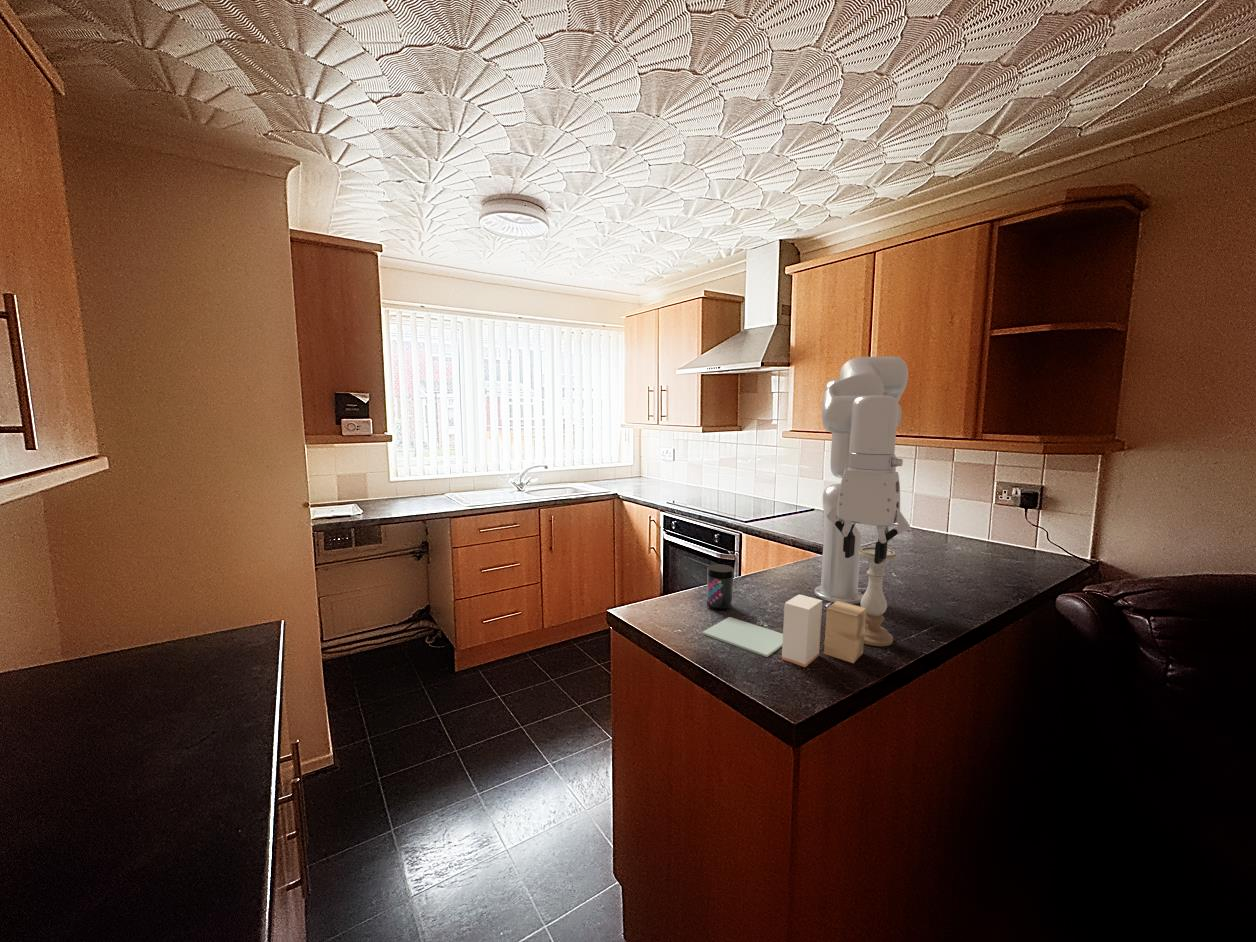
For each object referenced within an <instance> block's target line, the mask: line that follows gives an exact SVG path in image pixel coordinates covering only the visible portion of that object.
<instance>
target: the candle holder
mask: <svg viewBox="0 0 1256 942" xmlns="http://www.w3.org/2000/svg"><path fill="white" fill-rule="evenodd" d="M859 554H860V556H861V557H864V558H866V562H867V563H868V565H869V569H868V570H866V574H867V576H868V583H867V588H866V590H865V591H864V593H863V596H862V599H861V602H860V603H859V604H860V607H864V608H866V617H865V631H864V645H867V646H871V647H872V646H873V647H887V646H888V647H889V646H891V645H892V644H893V642H894V637H893V635H892V634H891V633H889V632H888V629H886V628H884V627H883V626H881V625H882V623H883V622H884V621H885V616H884V615H883V614H884V613H885V612H887V610H888V609H887V608H888V602H887V600H886V598H885V595H884V591H883V578H884V577H886V573H885V572H884V567H885V566H886V564H888V561H893V560H895V559H897V552H896V551H894V550H891V549H888V548H887V555H886V559H885V560H884V559H883V561H882V562H881V563H880V564H875V563H874V558H875V546H863V547H861V548H860V549H859Z"/></svg>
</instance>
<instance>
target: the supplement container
mask: <svg viewBox="0 0 1256 942" xmlns="http://www.w3.org/2000/svg"><path fill="white" fill-rule="evenodd" d="M706 571H707V576H706V577H707V579H706V581H707V583H706V606H707V607H708V608H709V609H710V610H712V609H713V611H715V612H716V611H717V612H725V611H729V610H731V609H732V607H733V599H734V598H733V595H734V594H733V592H734V576H735V575H734V574H735V573H734V571H735V568H734V567H732V566H731V565H727V564H721V563H720V564H718V563H717V564H716V563H715V564H710V565H708V566H707V570H706Z"/></svg>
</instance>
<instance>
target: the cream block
mask: <svg viewBox="0 0 1256 942" xmlns="http://www.w3.org/2000/svg"><path fill="white" fill-rule="evenodd" d="M783 607H784V608H783V610H784V611H783V625H782V626H783V629H782V634H783V643H782V646H781V648H782V649H781V660H783V661H786V662H789V663H792V664H795V665H797V666H800V667H803V668H806V667H808V666H809V664H811V663H812V662H813V661H814V660H816V658H818V657H819V656H820V646H821V643H820V642H821V641H820V640H821V626H822V613H823V612H822V611H823V610H822V609H823V599H819V598H815V597H812V596H811V597H810V596H807V595H804V594H800V593H799V594H797V595H795V596H794V597H792V598H791V599H789V600H787V601H785V603H784V606H783Z"/></svg>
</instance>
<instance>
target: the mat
mask: <svg viewBox="0 0 1256 942" xmlns="http://www.w3.org/2000/svg"><path fill="white" fill-rule="evenodd" d="M701 634H702V635H704V636H707V637H709V638H712V639H715V640H718V641H721V642H723V643H726V644H729V645H732V646H734V647H738V648H740V649H743V650H745V651H749V652H751V653H754V654H757V655H760V656H762V657H765V658H768V657H769V656H771V655H772V654H773V653H775V652H776V651H777V650H779V649H780V648H782V643H783V632H782V633H781V632H778V631H776V630H772V629H769V628H767V627H763V626H760V625H756V624H753V623H750V622H746V621H745V620H741V619H738V618H735V617H731V616H728V617H727V618H724V619H723V620H721V621H719V622H718V623H715V624H714V625H712V626H710V627H708V628H707V629H705V630H703V631H702V632H701Z"/></svg>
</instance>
